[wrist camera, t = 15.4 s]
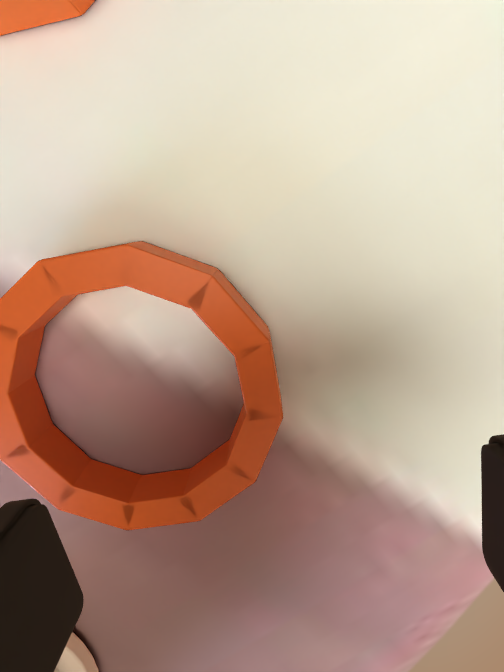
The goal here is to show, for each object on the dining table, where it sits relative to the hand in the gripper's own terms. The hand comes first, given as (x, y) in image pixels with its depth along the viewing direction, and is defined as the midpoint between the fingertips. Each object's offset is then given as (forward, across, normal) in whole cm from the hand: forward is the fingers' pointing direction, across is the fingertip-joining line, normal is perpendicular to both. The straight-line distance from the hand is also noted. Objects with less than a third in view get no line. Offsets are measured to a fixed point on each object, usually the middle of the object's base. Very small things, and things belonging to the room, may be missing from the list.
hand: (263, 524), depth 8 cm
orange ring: (+11, +6, +1) cm, 13 cm away
